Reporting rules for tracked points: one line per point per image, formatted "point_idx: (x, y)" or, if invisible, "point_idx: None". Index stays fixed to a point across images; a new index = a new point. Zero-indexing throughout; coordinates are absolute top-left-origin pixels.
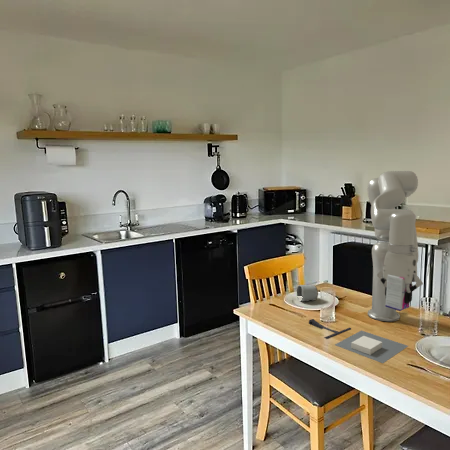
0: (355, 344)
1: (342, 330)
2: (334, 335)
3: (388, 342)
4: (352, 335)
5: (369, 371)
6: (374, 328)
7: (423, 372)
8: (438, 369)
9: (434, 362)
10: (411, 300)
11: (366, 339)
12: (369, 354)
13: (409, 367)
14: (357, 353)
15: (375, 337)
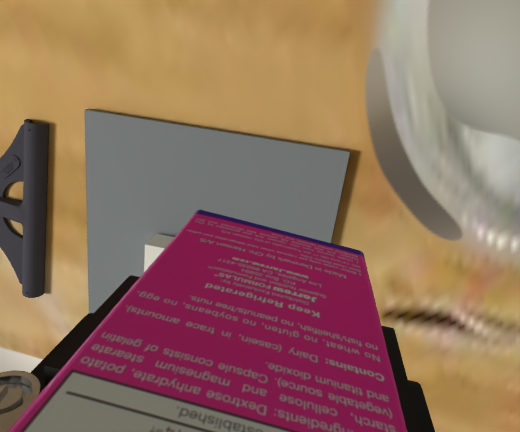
0: None
1: (27, 185)
2: (36, 252)
3: (253, 173)
4: (88, 199)
5: None
6: (113, 5)
7: (456, 348)
8: (514, 294)
9: (492, 239)
10: (414, 382)
11: None
12: None
13: (397, 337)
14: None
15: (179, 154)
